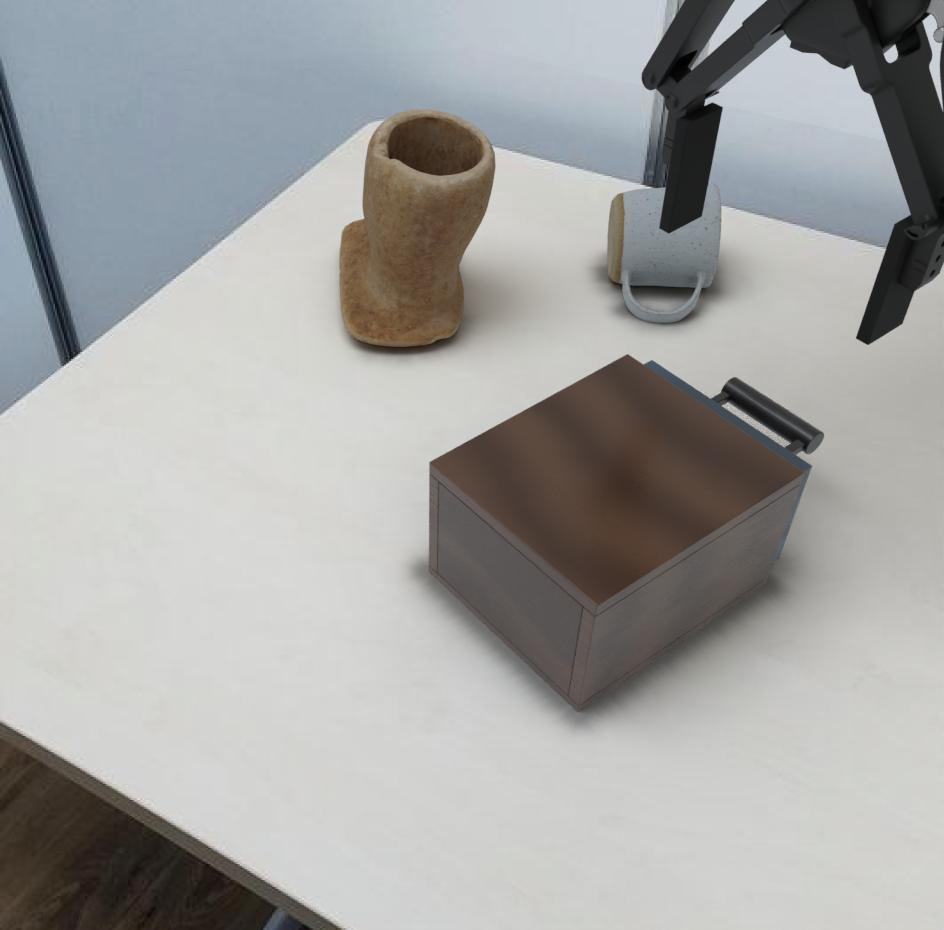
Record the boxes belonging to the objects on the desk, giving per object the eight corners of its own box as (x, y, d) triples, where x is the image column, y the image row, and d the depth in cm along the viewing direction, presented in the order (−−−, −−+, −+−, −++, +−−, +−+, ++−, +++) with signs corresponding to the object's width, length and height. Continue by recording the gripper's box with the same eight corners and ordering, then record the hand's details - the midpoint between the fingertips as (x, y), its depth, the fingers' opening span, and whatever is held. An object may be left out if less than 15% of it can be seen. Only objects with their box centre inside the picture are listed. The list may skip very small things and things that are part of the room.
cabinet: (608, 468, 78) (627, 353, 70) (764, 587, 70) (805, 472, 63) (428, 574, 72) (428, 461, 65) (577, 715, 65) (597, 605, 57)
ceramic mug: (601, 251, 95) (612, 166, 89) (700, 251, 94) (719, 165, 88) (608, 329, 88) (621, 243, 82) (715, 330, 87) (736, 243, 81)
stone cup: (491, 356, 86) (502, 173, 75) (337, 360, 87) (324, 180, 76) (480, 245, 96) (488, 69, 85) (341, 250, 97) (331, 76, 86)
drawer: (691, 418, 79) (713, 325, 73) (838, 518, 72) (876, 424, 66) (469, 549, 72) (473, 458, 66) (608, 673, 65) (627, 584, 59)
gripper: (602, -221, 51) (564, 206, 67) (1140, -75, 37) (928, 418, 53) (718, -259, 53) (655, 162, 70) (1262, -136, 40) (1025, 353, 56)
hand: (773, 274), depth 61 cm, fingers open, 13 cm apart
